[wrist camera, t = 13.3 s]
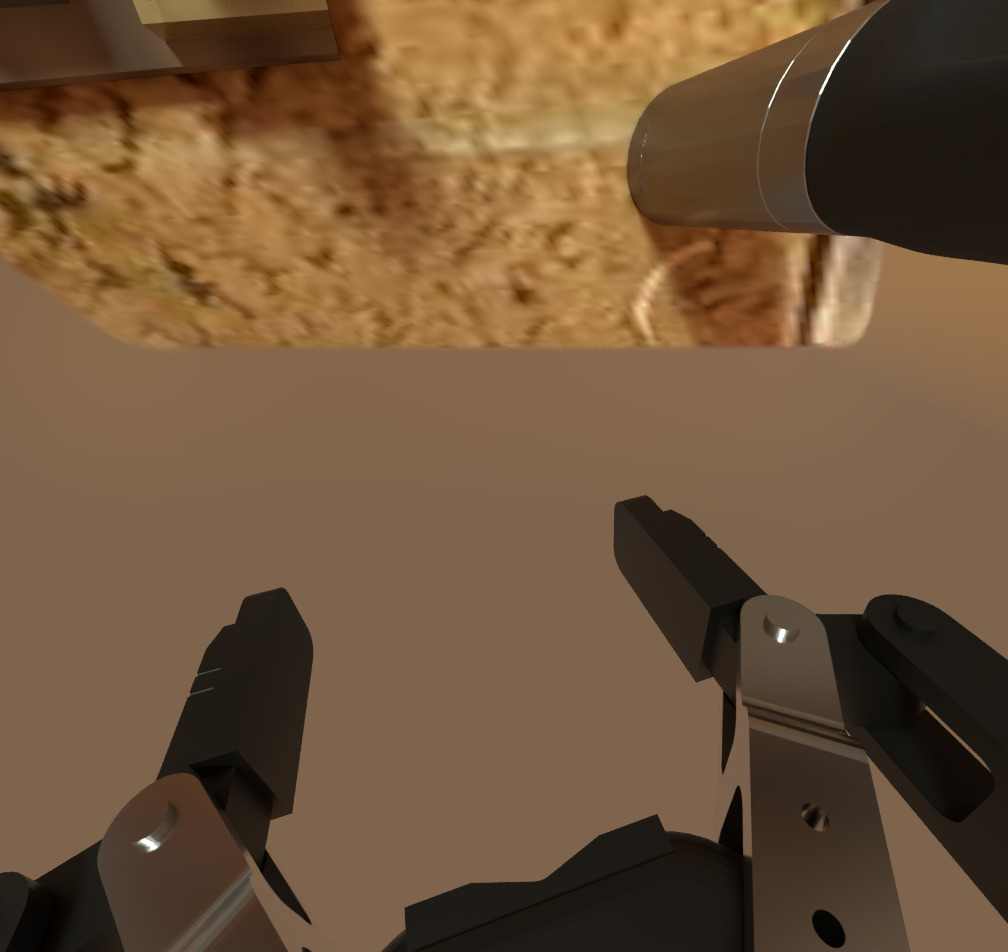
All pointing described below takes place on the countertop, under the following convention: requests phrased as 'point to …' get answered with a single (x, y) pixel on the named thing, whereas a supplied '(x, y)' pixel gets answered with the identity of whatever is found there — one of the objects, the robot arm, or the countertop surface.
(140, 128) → the countertop surface
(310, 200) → the countertop surface
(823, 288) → the countertop surface
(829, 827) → the robot arm
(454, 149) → the countertop surface
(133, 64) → the board
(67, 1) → the sockets
